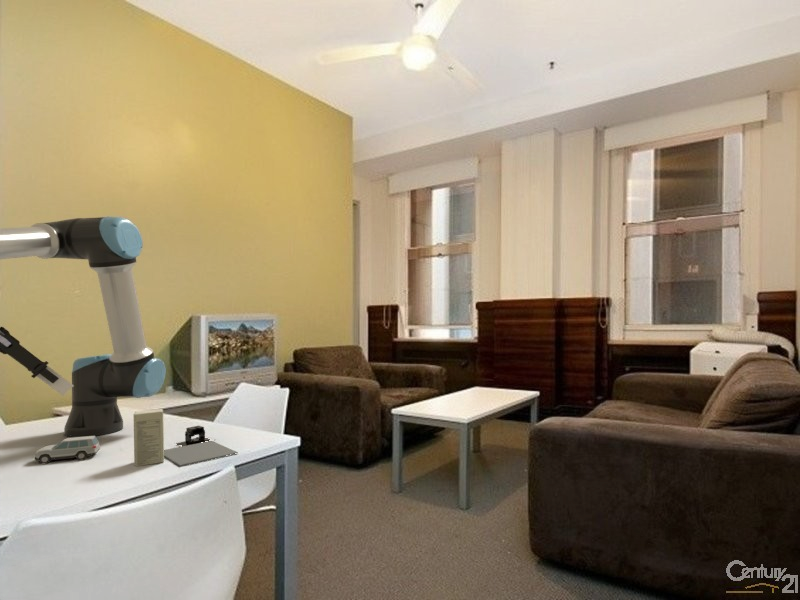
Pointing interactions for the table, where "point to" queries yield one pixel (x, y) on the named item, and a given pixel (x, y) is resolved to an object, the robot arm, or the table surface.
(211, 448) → the mat
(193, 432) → the black arched bracket
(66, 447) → the toy car
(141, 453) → the skincare box
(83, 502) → the table surface
